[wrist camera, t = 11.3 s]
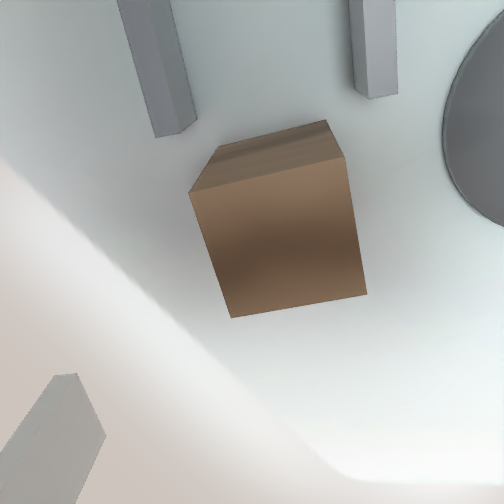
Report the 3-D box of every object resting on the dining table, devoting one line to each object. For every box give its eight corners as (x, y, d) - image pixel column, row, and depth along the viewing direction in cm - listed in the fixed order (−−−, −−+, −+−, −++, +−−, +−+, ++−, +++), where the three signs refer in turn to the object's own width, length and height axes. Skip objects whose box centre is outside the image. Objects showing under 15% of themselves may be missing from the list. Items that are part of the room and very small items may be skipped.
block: (218, 146, 23) (188, 192, 16) (325, 119, 22) (344, 156, 15) (246, 241, 26) (230, 318, 19) (343, 221, 25) (367, 294, 18)
